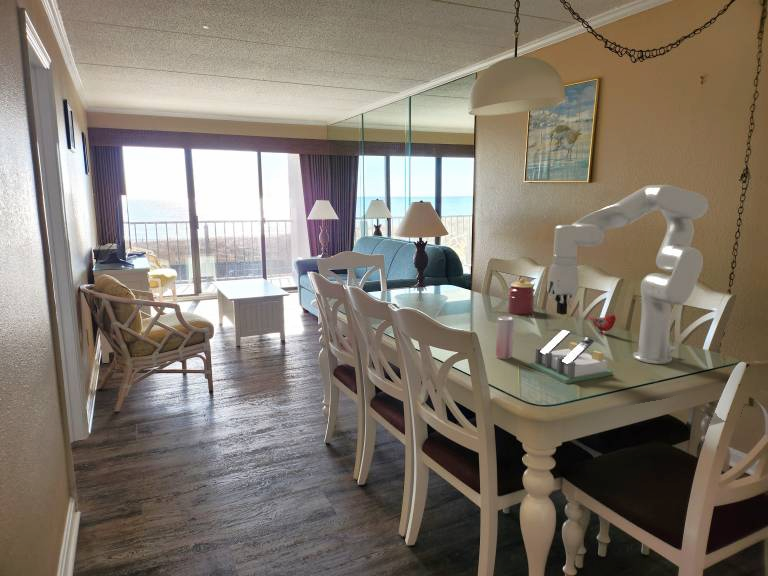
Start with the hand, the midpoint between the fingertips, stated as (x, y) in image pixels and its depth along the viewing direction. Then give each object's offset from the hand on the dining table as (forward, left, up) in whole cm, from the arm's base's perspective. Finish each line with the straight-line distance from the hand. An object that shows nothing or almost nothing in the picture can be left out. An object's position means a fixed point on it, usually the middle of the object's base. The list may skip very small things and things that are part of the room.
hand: (561, 313), depth 179 cm
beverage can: (+12, -16, -19) cm, 28 cm away
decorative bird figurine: (-45, -26, -19) cm, 55 cm away
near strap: (+2, +11, -11) cm, 15 cm away
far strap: (+2, 0, -11) cm, 11 cm away
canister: (-39, -73, -19) cm, 85 cm away
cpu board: (0, +6, -19) cm, 20 cm away
